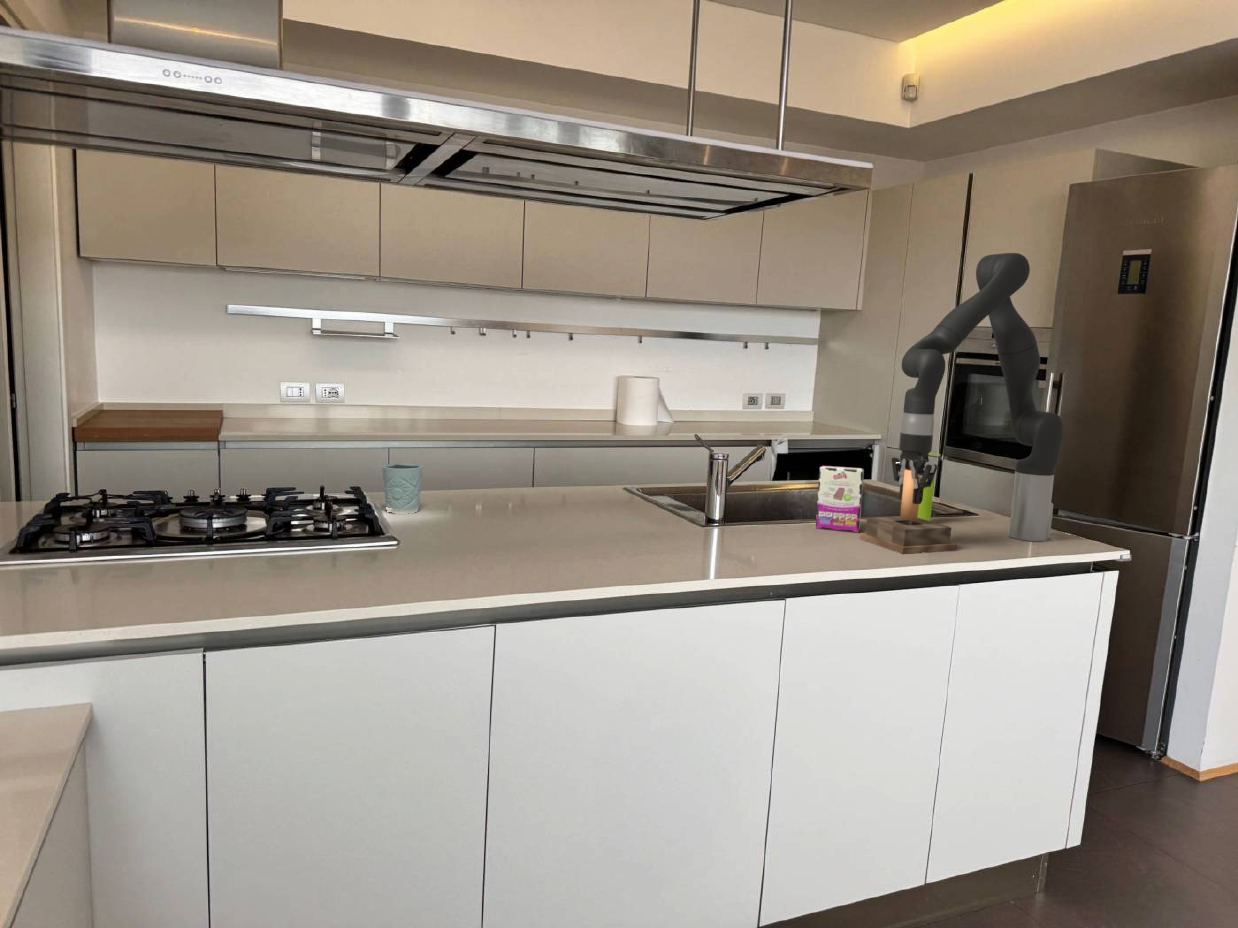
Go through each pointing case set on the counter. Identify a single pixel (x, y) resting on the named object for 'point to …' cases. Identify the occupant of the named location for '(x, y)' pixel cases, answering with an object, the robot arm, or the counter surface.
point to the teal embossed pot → (402, 485)
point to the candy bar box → (839, 498)
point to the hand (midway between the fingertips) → (910, 501)
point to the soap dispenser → (926, 500)
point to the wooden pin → (908, 498)
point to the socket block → (908, 535)
